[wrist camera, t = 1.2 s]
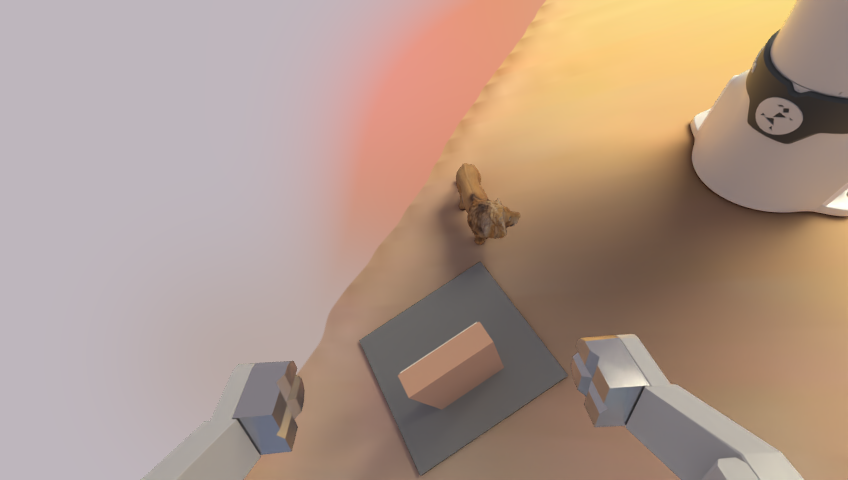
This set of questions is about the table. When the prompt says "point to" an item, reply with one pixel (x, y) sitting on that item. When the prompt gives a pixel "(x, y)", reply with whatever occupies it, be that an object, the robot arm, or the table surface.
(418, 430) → the rubber mat
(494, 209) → the lion figurine
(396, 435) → the table surface
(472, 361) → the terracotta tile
